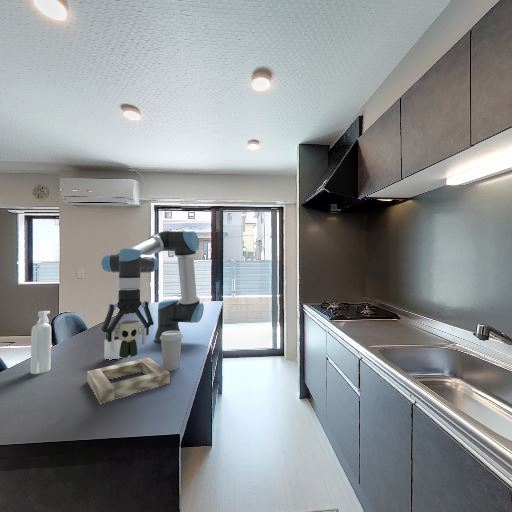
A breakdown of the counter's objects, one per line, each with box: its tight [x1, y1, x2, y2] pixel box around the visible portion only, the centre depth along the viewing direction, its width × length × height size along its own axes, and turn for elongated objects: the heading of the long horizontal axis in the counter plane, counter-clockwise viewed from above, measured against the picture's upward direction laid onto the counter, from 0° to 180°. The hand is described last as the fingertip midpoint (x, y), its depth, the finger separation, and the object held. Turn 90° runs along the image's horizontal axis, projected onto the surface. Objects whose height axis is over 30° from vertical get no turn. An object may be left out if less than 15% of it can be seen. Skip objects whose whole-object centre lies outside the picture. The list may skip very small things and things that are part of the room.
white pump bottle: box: [29, 310, 52, 375], centre depth 113 cm, size 7×12×25 cm, turn 18°
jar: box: [103, 330, 123, 361], centre depth 129 cm, size 9×8×12 cm
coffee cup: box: [160, 330, 184, 372], centre depth 117 cm, size 10×10×15 cm
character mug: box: [113, 319, 144, 359], centre depth 103 cm, size 11×7×13 cm, turn 120°
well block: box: [86, 357, 171, 404], centre depth 102 cm, size 23×22×4 cm
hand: (128, 347), depth 102 cm, fingers closed on character mug, 11 cm apart
